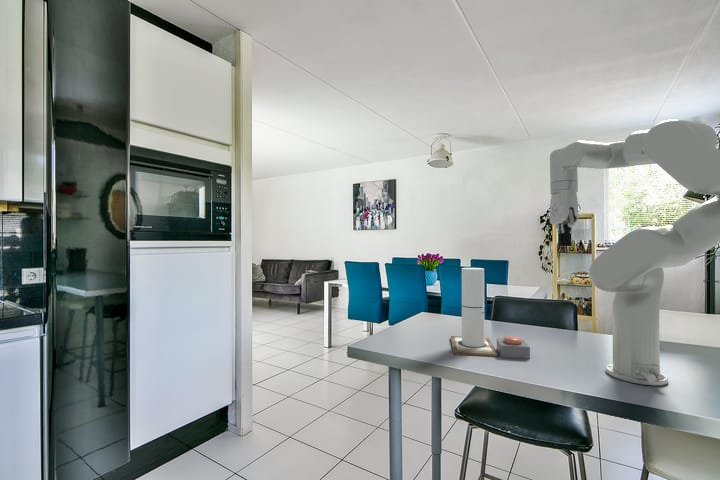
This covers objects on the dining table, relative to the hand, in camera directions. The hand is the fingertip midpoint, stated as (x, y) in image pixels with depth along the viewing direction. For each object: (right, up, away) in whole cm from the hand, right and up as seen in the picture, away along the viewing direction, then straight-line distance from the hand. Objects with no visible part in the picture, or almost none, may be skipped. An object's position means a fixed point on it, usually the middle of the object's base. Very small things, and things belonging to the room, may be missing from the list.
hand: (564, 245), depth 110 cm
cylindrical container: (-27, -33, +5) cm, 43 cm away
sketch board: (-28, -34, +6) cm, 44 cm away
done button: (-17, -32, -2) cm, 37 cm away
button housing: (-17, -34, -2) cm, 38 cm away
